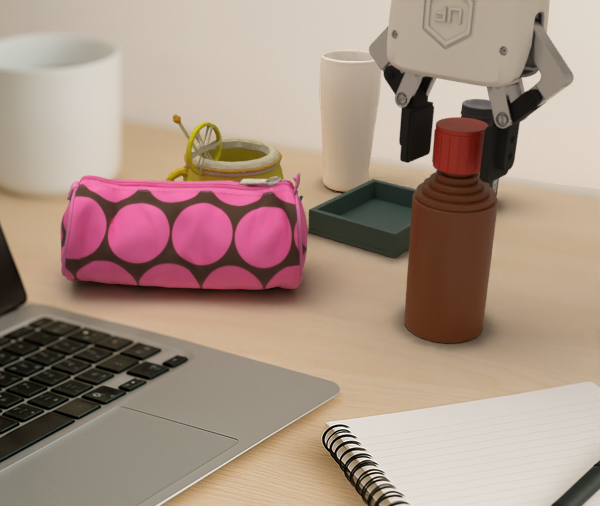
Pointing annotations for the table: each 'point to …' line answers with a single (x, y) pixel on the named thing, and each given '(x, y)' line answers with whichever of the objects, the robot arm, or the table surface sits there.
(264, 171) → the yellow round vessel
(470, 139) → the cap
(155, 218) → the pencil case
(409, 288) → the bottle
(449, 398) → the table surface
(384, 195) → the tray
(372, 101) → the drinking glass
